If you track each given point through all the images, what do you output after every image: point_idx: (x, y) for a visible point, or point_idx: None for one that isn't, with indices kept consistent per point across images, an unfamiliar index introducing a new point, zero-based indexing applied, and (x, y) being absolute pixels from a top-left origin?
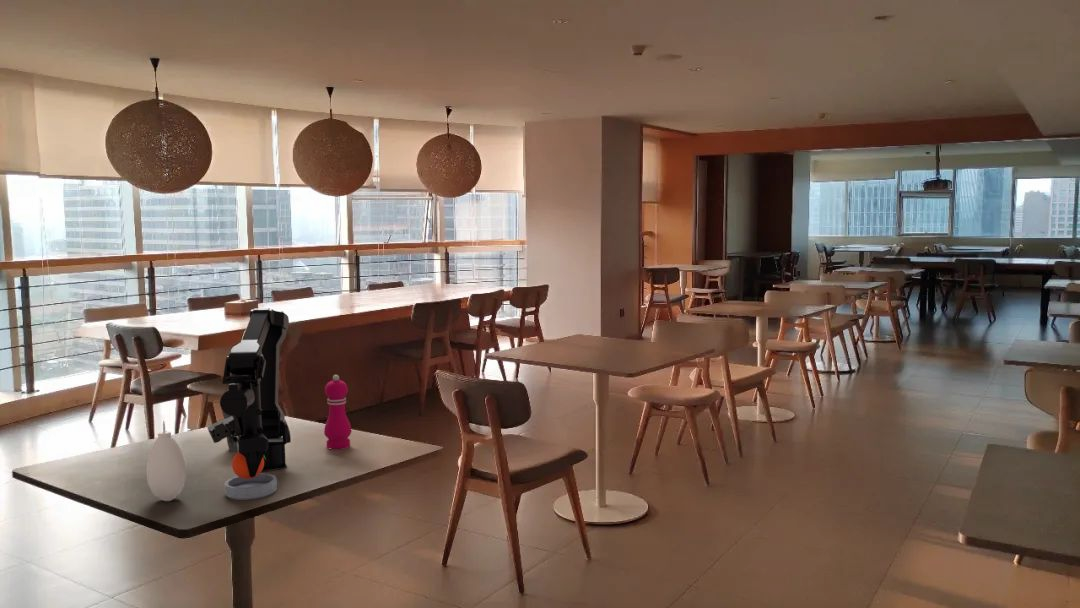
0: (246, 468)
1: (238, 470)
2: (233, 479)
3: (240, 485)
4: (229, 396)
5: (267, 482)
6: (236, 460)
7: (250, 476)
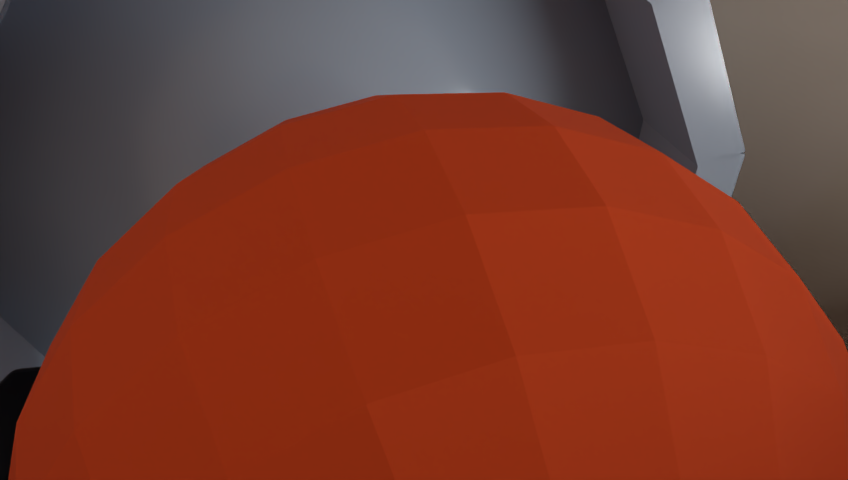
0: (10, 466)
1: (125, 238)
2: (646, 7)
3: (521, 74)
4: None
5: None
6: (264, 404)
7: (5, 382)
